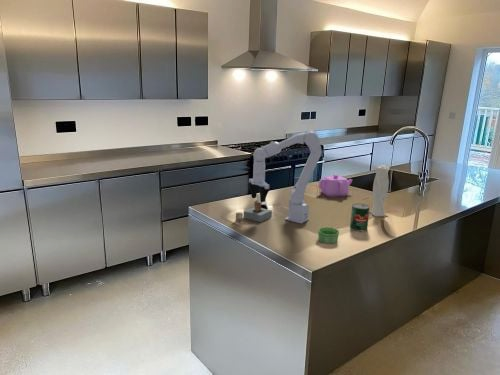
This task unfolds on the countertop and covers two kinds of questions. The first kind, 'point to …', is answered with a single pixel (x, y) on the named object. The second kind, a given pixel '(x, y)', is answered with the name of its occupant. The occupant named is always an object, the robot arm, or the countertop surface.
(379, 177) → the skyscraper
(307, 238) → the countertop surface
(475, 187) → the countertop surface
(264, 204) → the tube
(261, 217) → the hole block
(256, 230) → the countertop surface
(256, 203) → the walnut peg
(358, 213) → the canned tomato
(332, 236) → the ramekin
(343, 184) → the teakettle
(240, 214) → the birch peg
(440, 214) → the countertop surface
